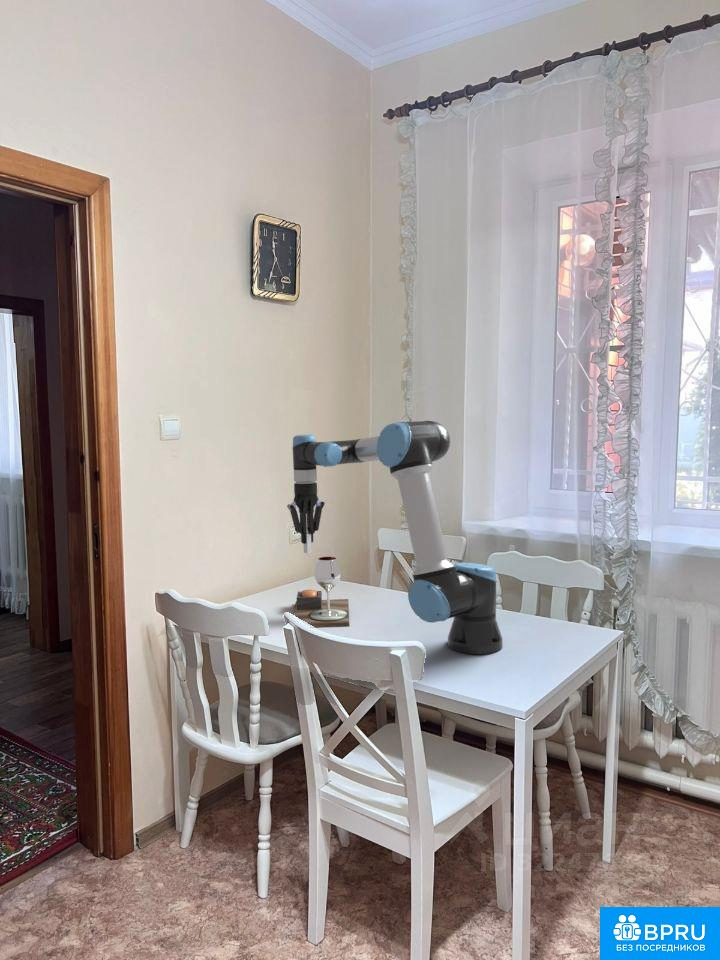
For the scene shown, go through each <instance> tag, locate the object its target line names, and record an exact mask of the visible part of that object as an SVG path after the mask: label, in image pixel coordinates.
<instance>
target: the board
mask: <svg viewBox="0 0 720 960" xmlns="http://www.w3.org/2000/svg"><path fill="white" fill-rule="evenodd" d="M316 591H317V596H316V597H302V591H297V595H296V600H295V604H294V609H293V612H292V615H293V614H294V615H295V616H296V617H298V618H299V619H301V620H303V621H305V622H307V623H308V624H310V625H312V626H314V627H313V628H333V627H350V609H349V607H350V606H349V599H348V598H340V599H339V598H338V599H336V598H335V599H330V610H333V611H337V612H339V614H338V615H336V616H332V617H324V616H320V615H319V613H320V612H322V611H327V599H323V597H322V596H323V591H322V590H316Z"/></svg>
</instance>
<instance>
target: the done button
mask: <svg viewBox="0 0 720 960" xmlns="http://www.w3.org/2000/svg"><path fill="white" fill-rule="evenodd" d="M317 591H318V590H316V589H304V590H301V592H302V597H316V596H317Z"/></svg>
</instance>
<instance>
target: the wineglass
mask: <svg viewBox="0 0 720 960" xmlns="http://www.w3.org/2000/svg"><path fill="white" fill-rule="evenodd" d="M316 562H317V563H316V568H315V570H314V579H315V581H316V583H317V584H318V585H319V586H320V587H321V588H322V589H324V590H325V592H326V600H327V611H322V612H320V613H319V615H320V616H324V617H332V616H336V615H338V614H339V612H337V611H333V610H330V600H331V599H330V598H331V597H330V593H331V590H332V589H333V588H334V587H336V585H337V584H338V583H339V582H340V579H341V571H340V570H341V569H340V567H339V563H338V560H337V557H335V556H322V557H321V556H320V557H318V559H317V561H316Z"/></svg>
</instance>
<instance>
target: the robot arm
mask: <svg viewBox="0 0 720 960" xmlns="http://www.w3.org/2000/svg"><path fill="white" fill-rule="evenodd" d="M450 444H451V437H450V433H449V432H448V430H447V429H446V427H445V426H444V425H443V424H441V423H439V422H437V421H434V420H424V421H423V420H422V421H419V420H418V421H416V420H415V421H399V422H393V423H389V424H387V425H385V426H384V427H383V428H382V430H381V431H380V433H379V435H377V436H371V437H365V438H357V439H349V440H333V441H317V439H316V436H315V435H314V434H297V435H294V436H293V437H292V462H293V463H292V464H293V465H292V467H293V481H294V482H295V483H294V484H293V491H294V492H293V493H294V496H293V502H291V503H289V504H287V506H286V507H287V508H288V510H289V512H290V515H291V519H292V523H293V526H294V531H295V532H296V533H299V534H300V542H301V544H303V553H305V554H312V543H314V534H315V532H317V531H319V528H320V523H321V518H322V512H323V511H322V510H323V508H324V506H325V504H326V503H325V501H322V500H320V499H319V497H318V483H317V480H318V475H317V474H318V473H317V470H318V469H317V466H320V467H321V466H322V467H325V468H327V467H335V466H338V465H346V464H356V463H359V464H361V463H366V462H375V461H379V462H380V463H381V464H382V465H384V466H385V467H387V468H389V473H390V475H391V477H393V478H395V479H396V480H397V482H398V487H399V492H400V496H401V501H402V506H403V509H404V513H405V514H404V515H405V519H406V524H407V528H408V533H409V538H410V543H411V547H412V551H413V556H414V560H415V561H414V562H415V569H414V570H413V573H412V579H413V582H412V583H411V584H410V585H409V587H408V588H409V590H408V591H407V593H408V594H407V597H408V602H409V605H410V607H411V609H412V611H413V613H414V614H415V615H416V616H417V617H419V619H421V620H422V621H424V622H426V623H436V622H437V623H438V622H444V621H447V620H449V619H451V618H452V619H453V620H452V623H451V625H450V629H449V633H448V635H447V646H448V648H450V649H451V650H452V651H454V652H458V653H462V654H468V655H488V654H493V653H496V652H499V651H500V650H502V648H503V636H502V633H501V631H500V627H499V624H498V621H497V579H496V578H497V576H496V570H495V568H493V567H492V566H490V565H486V564H483V563H482V564H481V563H474V562H457V563H453V562H451V561H449V558H448V554H447V550H446V545H445V540H444V535H443V531H442V527H441V523H440V522H441V521H440V518H439V514H438V509H437V505H436V499H435V494H434V491H433V487H432V481H431V477H430V472H431V470H432V468H433V466H434V465H433V462H437V461H439V460H441V459H442V458H443V457H445V455H446V454H447V453H448V451H449V449H450V446H451V445H450ZM314 508H315V509H314ZM297 509H298V511H297ZM298 513H299V514H298Z"/></svg>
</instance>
